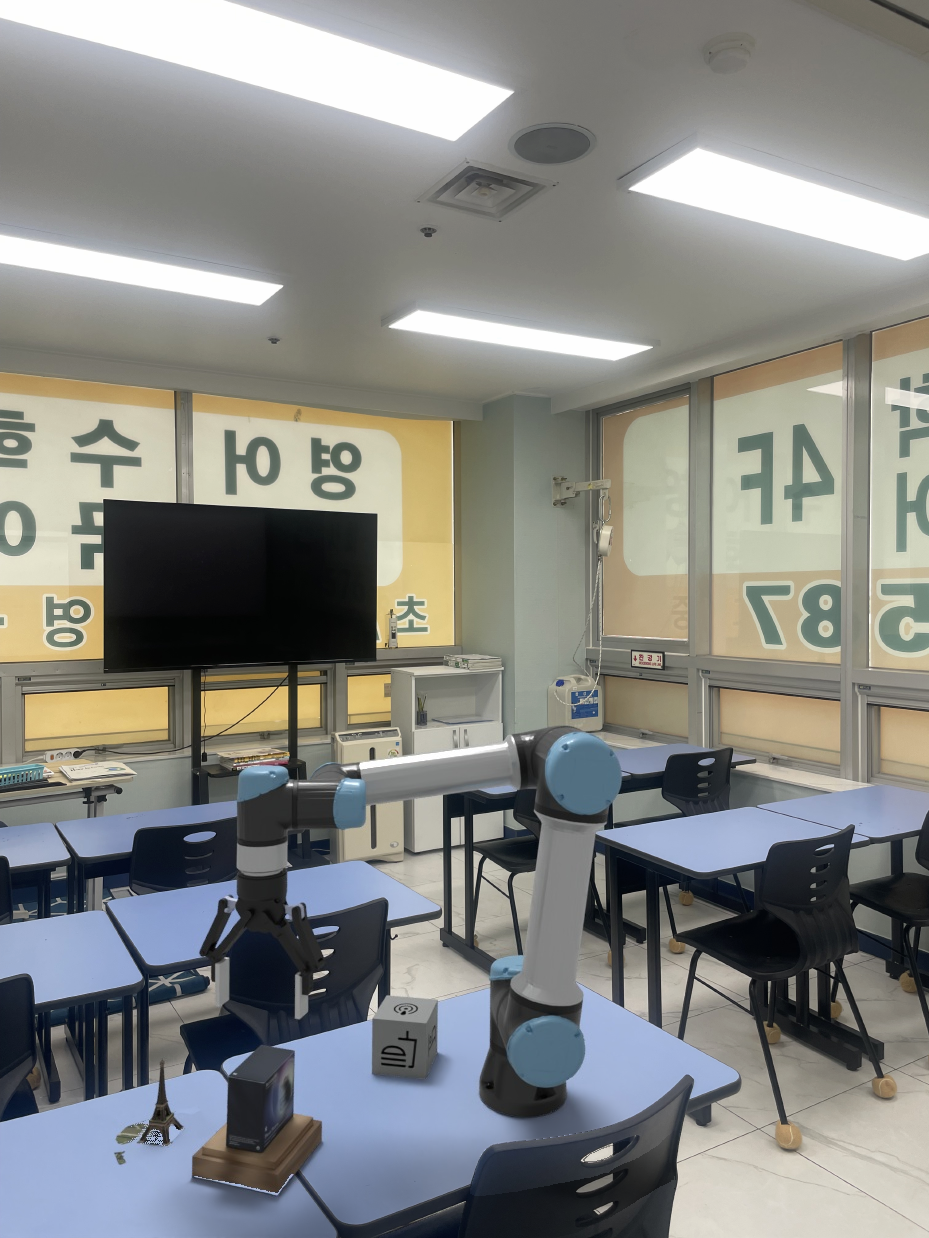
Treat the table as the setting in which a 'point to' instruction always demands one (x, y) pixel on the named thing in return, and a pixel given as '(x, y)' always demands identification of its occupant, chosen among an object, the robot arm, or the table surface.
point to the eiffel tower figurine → (151, 1122)
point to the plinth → (259, 1156)
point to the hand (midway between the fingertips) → (261, 1009)
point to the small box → (260, 1098)
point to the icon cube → (404, 1037)
